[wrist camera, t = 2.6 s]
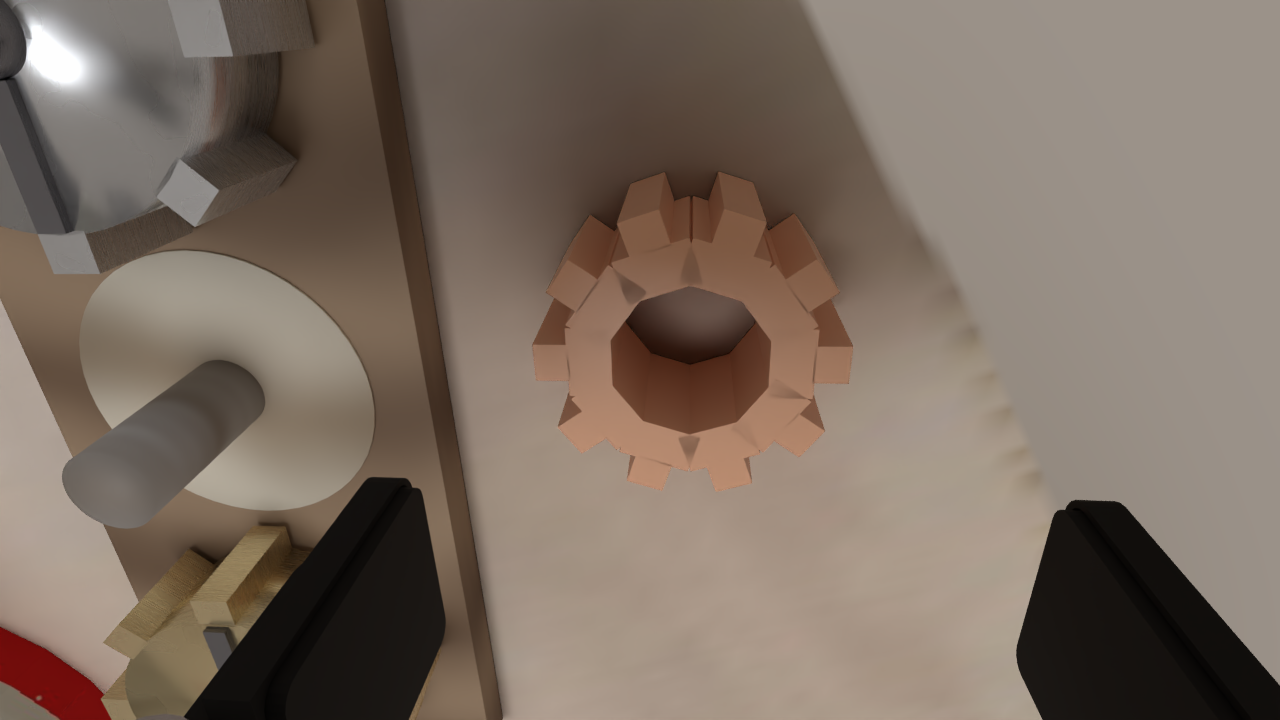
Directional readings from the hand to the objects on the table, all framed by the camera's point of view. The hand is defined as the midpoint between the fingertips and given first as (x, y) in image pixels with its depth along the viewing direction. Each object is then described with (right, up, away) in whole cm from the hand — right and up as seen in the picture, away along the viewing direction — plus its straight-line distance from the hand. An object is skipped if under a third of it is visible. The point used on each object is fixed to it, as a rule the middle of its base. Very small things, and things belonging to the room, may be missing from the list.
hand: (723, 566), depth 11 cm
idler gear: (0, +5, +8) cm, 9 cm away
